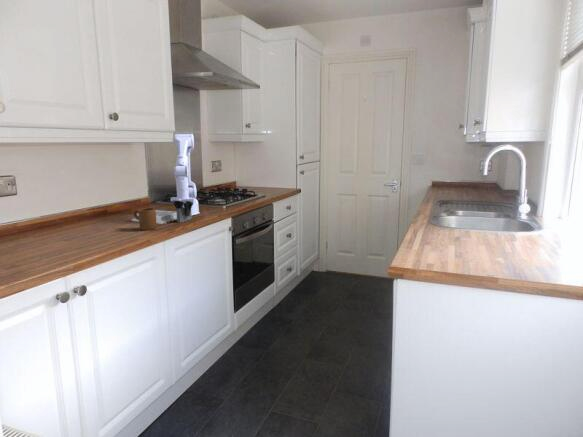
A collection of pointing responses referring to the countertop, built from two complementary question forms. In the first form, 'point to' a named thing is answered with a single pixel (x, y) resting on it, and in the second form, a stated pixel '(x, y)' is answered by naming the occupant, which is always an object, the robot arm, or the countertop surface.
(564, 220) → the countertop surface
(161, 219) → the rack
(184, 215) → the panel
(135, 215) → the mug
